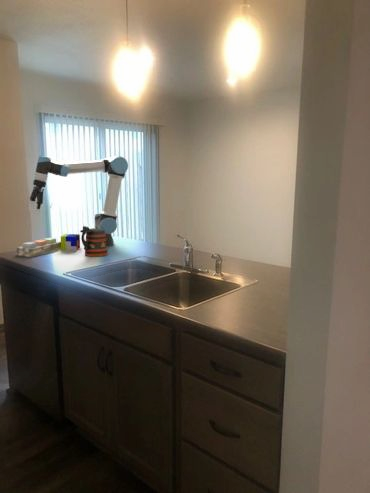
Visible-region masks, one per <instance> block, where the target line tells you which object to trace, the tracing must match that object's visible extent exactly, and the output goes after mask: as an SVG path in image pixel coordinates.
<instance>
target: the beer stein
mask: <svg viewBox="0 0 370 493" xmlns="http://www.w3.org/2000/svg"><path fill="white" fill-rule="evenodd" d="M79 232H80V233H81V235H80V241H81V243H82V245H83V249H84V255H85V256H87V257H91V258H94V257H97V258H99V257H106V256H108V250H109V249H108V246H106V234H105V230H103V228H101V229H100V228H95V227H93V228H92V227H91V228H90V227H88V226H86V225H83V226H82V230H81V229H80V231H79Z"/></svg>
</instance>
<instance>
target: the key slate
mask: <svg viewBox="0 0 370 493" xmlns="http://www.w3.org/2000/svg"><path fill="white" fill-rule="evenodd" d="M21 245H22V246H23V248H34V247H37V243H34V242H33V241H29V242H24V243H22V244H21Z"/></svg>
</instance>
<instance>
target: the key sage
mask: <svg viewBox="0 0 370 493" xmlns="http://www.w3.org/2000/svg"><path fill="white" fill-rule="evenodd" d="M42 240H46V241H47V243H48V244H51V243H55V242H56V241H57V238H55V237H47V238H43V239H42Z"/></svg>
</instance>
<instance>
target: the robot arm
mask: <svg viewBox="0 0 370 493" xmlns="http://www.w3.org/2000/svg"><path fill="white" fill-rule="evenodd" d="M128 169H129V163H128V160H127V159H126V158H125V157H123V156H120V155H116V156H111V157H108V158H103V159H102V158H101V159H100V160H91V161H79V162H78V161H77V162H65V163H63V162H62V163H59V162H56V161H52V158H50V157H48V156H45V155H44V156H43V155H40V156H38V159H37V162H36V168H35V172H34V179H33V183H32V185H33V189H32V191H31V193H30V197H29V200H30V202H29V207H28V211H30V212H34V214H35V215H40V211H41V206H42V204H43V203H44V191H45V189H44V188H46V185H47V180H48V174H53V175H55V176H59V177H66V178H67V177H68V175H75V174H86V173H99V172H102V173H103V174H105V173H107V175H108V182H107V189H106V196H105V200H104V206H103V209H102V211H101V212H100V213H95V214H94V228H100V229H101V228H103V230H105V234H106V246H107V247H109V246H113V245H114V244H115V241H114V239H113V235H112V234H113V233H114V232H115V231H116V230H117V229H118V223H117V219H118V218H117V217H118V215H117V213H116V212H117V209H118V208H117V207H118V202H119V196H120V192H121V185H122V180H123V179H124V178H126V177H125V175H126V173H127V171H128ZM34 208H35V209H34Z"/></svg>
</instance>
